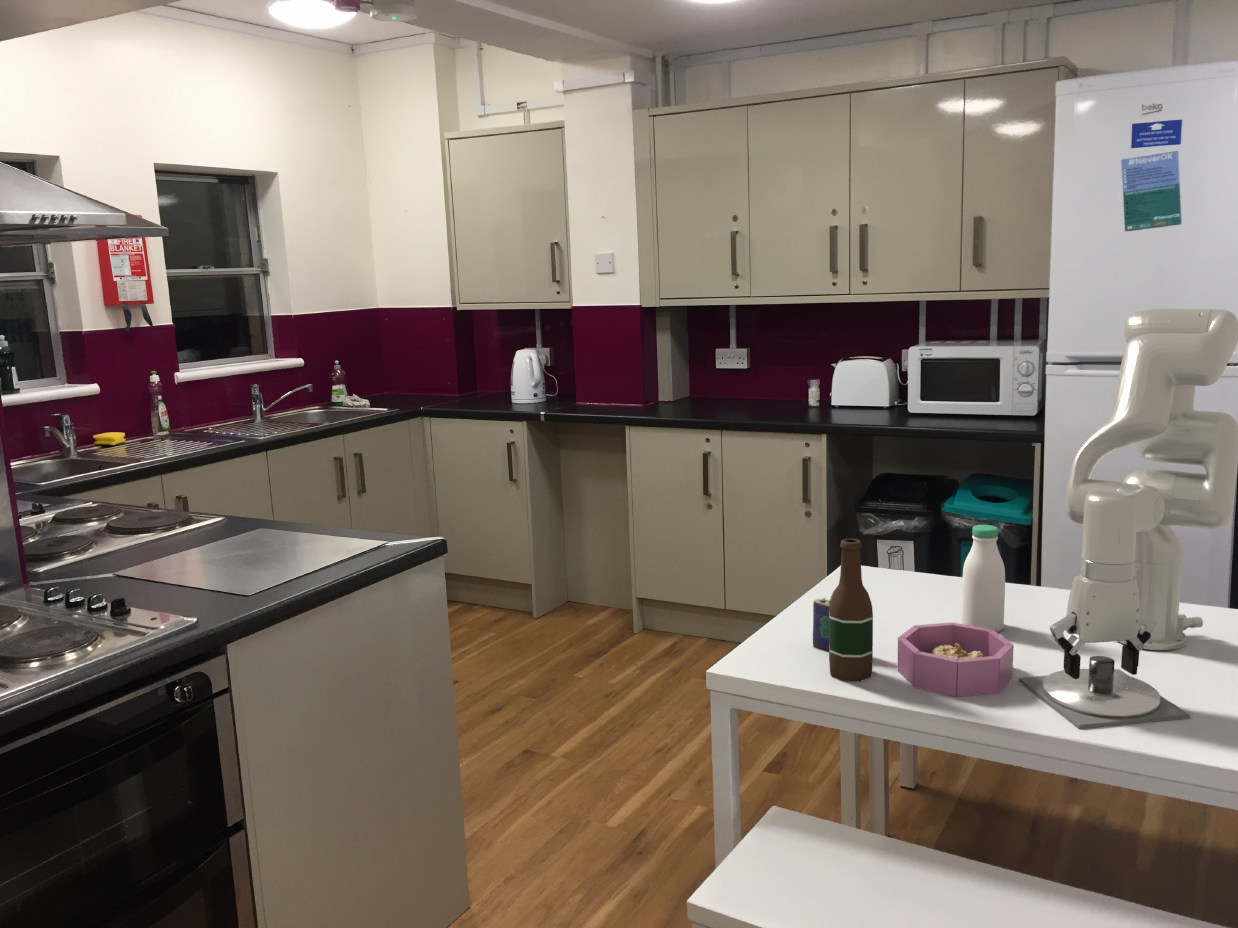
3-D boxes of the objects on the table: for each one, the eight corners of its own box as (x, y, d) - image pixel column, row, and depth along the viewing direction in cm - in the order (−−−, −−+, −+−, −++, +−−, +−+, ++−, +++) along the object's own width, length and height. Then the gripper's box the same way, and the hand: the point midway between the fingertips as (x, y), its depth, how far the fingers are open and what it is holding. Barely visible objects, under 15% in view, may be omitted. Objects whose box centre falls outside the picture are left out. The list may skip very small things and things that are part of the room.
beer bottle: (865, 685, 170) (866, 548, 166) (821, 677, 174) (820, 543, 170) (879, 669, 177) (880, 537, 172) (836, 661, 181) (837, 532, 176)
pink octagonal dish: (978, 651, 183) (979, 620, 182) (1027, 690, 166) (1029, 655, 165) (886, 659, 181) (886, 627, 180) (926, 699, 164) (927, 664, 163)
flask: (861, 653, 185) (861, 597, 182) (854, 658, 182) (854, 601, 180) (816, 642, 190) (816, 588, 188) (808, 647, 188) (808, 592, 186)
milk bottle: (1006, 635, 190) (1010, 532, 186) (963, 633, 192) (966, 532, 188) (999, 621, 198) (1003, 522, 194) (958, 619, 199) (961, 521, 195)
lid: (1117, 670, 171) (1119, 636, 170) (1184, 712, 154) (1187, 676, 153) (1022, 679, 169) (1024, 645, 168) (1080, 723, 153) (1082, 685, 151)
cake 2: (980, 690, 169) (980, 661, 167) (920, 680, 174) (919, 651, 173) (994, 665, 177) (994, 637, 175) (937, 656, 182) (936, 628, 181)
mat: (1118, 672, 172) (1118, 668, 172) (1189, 717, 154) (1190, 714, 154) (1018, 681, 170) (1018, 677, 170) (1078, 728, 152) (1079, 724, 152)
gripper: (1143, 560, 162) (1136, 661, 165) (1041, 566, 160) (1036, 668, 163) (1174, 573, 155) (1166, 678, 158) (1068, 579, 153) (1062, 686, 156)
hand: (1100, 673), depth 161 cm, fingers open, 9 cm apart
